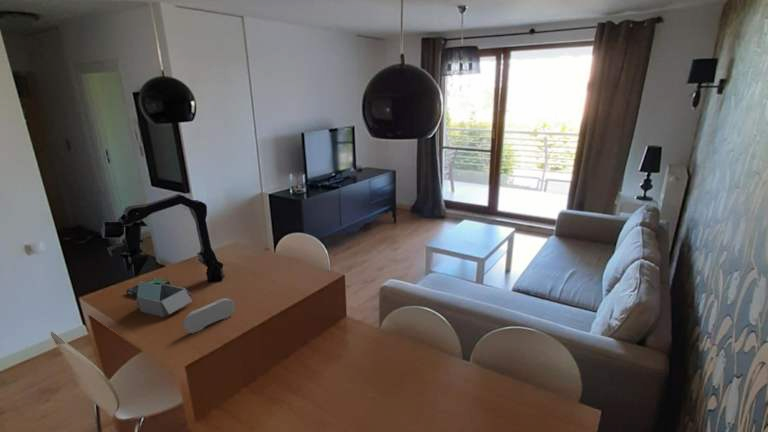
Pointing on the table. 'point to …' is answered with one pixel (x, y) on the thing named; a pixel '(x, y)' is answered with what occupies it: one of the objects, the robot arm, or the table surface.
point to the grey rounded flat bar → (208, 315)
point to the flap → (149, 290)
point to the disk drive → (157, 281)
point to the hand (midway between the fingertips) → (132, 273)
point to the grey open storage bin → (165, 301)
